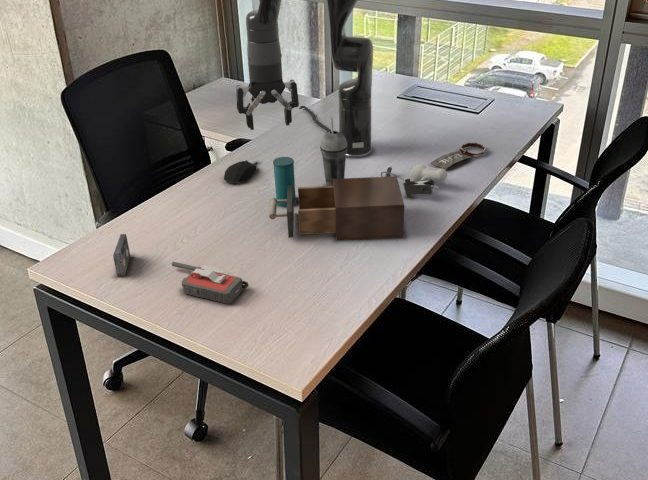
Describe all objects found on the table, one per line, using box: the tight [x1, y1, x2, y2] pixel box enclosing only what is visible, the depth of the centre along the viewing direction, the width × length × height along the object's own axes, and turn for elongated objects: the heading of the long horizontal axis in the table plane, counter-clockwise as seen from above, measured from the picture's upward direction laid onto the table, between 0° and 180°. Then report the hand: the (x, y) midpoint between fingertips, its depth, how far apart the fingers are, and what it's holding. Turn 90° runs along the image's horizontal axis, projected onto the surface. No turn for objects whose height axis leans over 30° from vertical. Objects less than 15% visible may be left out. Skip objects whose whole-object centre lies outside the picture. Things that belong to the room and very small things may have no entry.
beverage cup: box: [319, 116, 348, 186], centre depth 189 cm, size 7×7×20 cm
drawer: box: [268, 185, 336, 239], centre depth 175 cm, size 19×14×7 cm
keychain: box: [430, 141, 487, 170], centre depth 207 cm, size 8×19×2 cm, turn 131°
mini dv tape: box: [112, 233, 131, 277], centre depth 162 cm, size 8×2×6 cm, turn 4°
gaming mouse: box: [223, 160, 258, 184], centre depth 202 cm, size 6×15×4 cm, turn 155°
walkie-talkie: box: [171, 261, 249, 305], centre depth 155 cm, size 9×4×20 cm
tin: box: [272, 156, 297, 208], centre depth 185 cm, size 5×5×12 cm
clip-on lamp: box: [380, 163, 448, 198], centre depth 192 cm, size 12×6×18 cm
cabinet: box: [333, 175, 405, 241], centre depth 175 cm, size 16×15×9 cm
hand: (269, 126), depth 172 cm, fingers open, 8 cm apart
